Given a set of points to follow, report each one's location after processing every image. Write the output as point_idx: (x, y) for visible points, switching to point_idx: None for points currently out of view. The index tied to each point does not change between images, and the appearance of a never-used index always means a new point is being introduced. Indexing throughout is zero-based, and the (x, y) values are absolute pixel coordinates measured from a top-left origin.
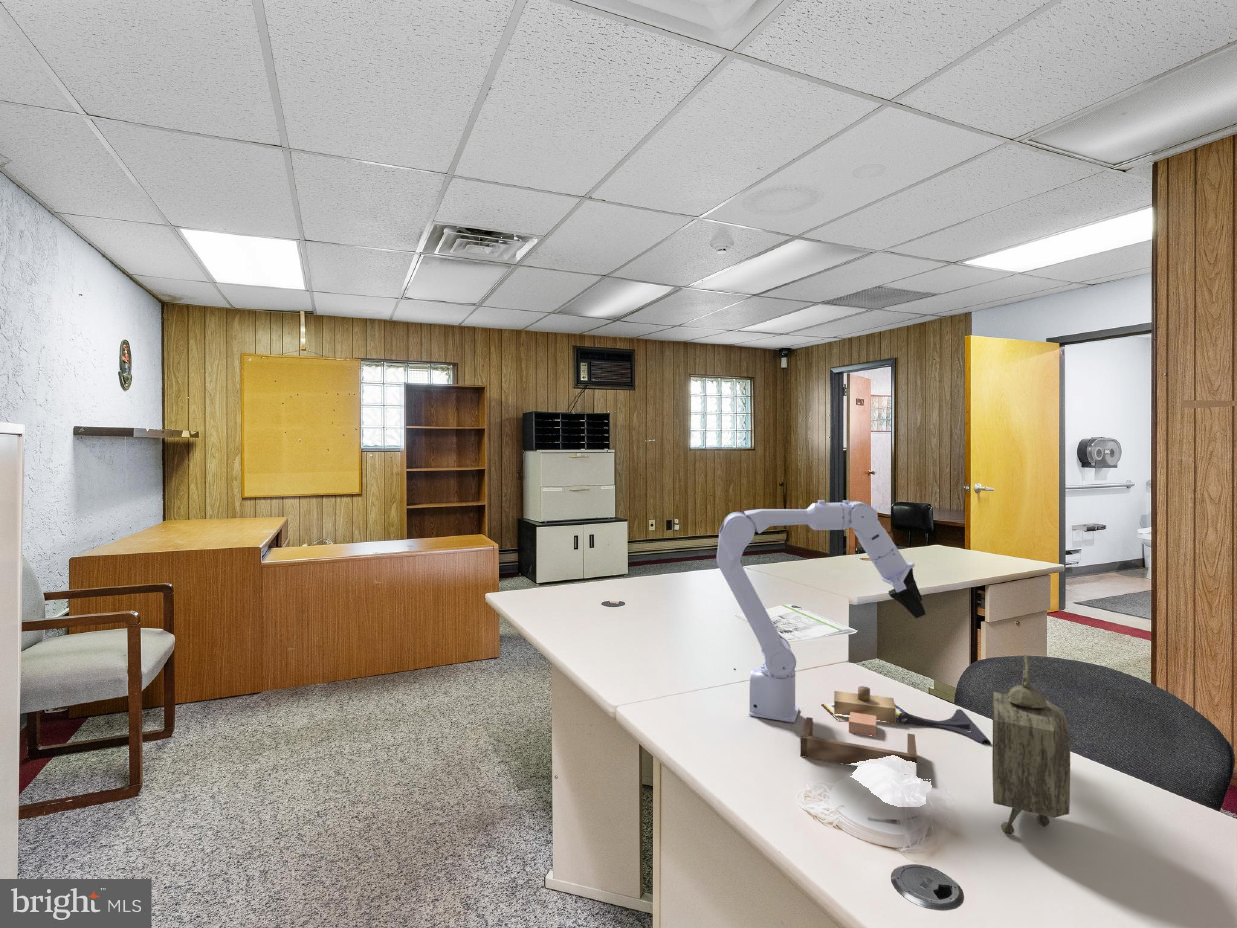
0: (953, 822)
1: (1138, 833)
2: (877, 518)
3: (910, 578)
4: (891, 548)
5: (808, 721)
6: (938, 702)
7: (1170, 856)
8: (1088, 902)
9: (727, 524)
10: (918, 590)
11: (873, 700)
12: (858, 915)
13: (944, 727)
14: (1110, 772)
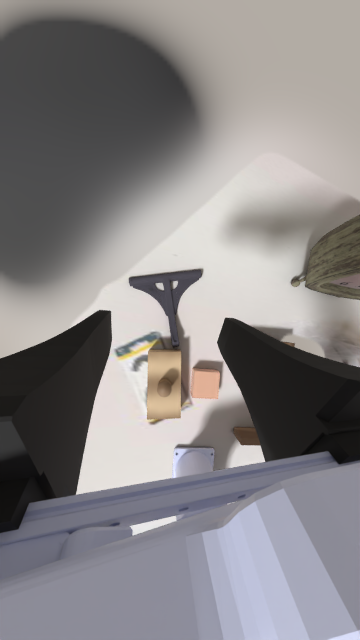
0: (333, 325)
1: (306, 213)
2: None
3: (72, 380)
4: None
5: (251, 441)
6: (102, 298)
7: (326, 207)
8: None
9: None
10: (99, 324)
11: (164, 374)
12: None
13: (177, 304)
14: (221, 191)
